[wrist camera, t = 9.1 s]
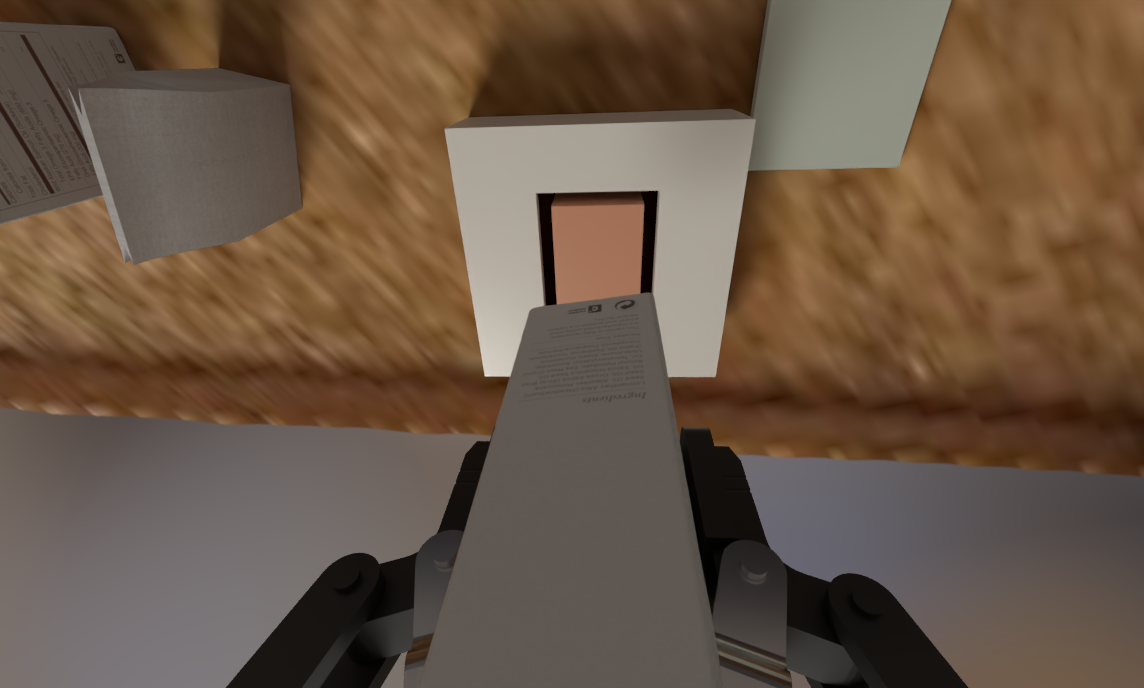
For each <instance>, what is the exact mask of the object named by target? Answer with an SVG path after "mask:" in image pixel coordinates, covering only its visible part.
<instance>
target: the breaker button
mask: <svg viewBox="0 0 1144 688" xmlns="http://www.w3.org/2000/svg"><path fill="white" fill-rule="evenodd" d="M551 211H552V229H553V246H554V263H555V281H556V298H557V305H558V304H565V303H574V302H581V301H588V300H596V299H604V298H610V297H618V296H625V295H633V294H640V285H641V264H642V243H643V221H644V202H643V198H642V195H641V191H617V192H571V193H555V196H554V200H553V203H552V206H551Z"/></svg>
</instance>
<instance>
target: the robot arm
mask: <svg viewBox="0 0 1144 688" xmlns="http://www.w3.org/2000/svg"><path fill="white" fill-rule="evenodd" d="M494 428H495V426H494ZM493 432H494V429H493ZM492 435H493V433H492ZM491 438H492V436H491ZM490 442H491V439H490V441H477V442H476V443H475V444H474V445H473V447H472V448H471V449H470V450H469V451H468V452H467V453H466V455H465V457H464V460H463V463H462V466H461V469H460V472H459V474H458V477H457V480H456V484H455V486H454V488H453V491H452V494H451V497H450V499H449V503H448V505H447V508H446V511H445V514H444V516H443V519H442V522H441V525H440V528H439V530H438V532H437V534H436V535H434V536H432V537H431V538H429V539H428V540H427V541H426V542H425V543H424V544H423V545H422V547H421V548H420V550H419V551H418V552H417V553H415V554H413V555H410V556H407V557H404V558H400V559H397V560H393V561H389V562H386V563H382V564H379V563H378V561H377V560H376V559H375V558H374V557H373V556H371V555H369V554H365V553H354V554H350V555H347V556H344V557H342V558H340V559H338V560H337V561H335V562H334V563H332V564H331V565H330V566H329V567H328V568H327V569H326V570H325V571H324V572H323V573H322V574H321V576H320V577H319V578H318V579H317V580H316V581H315V583H314V584H313V585H312V586H311V587H310V588H309V590H308V591H307V592H306V593H305V594H304V596H303V597H302V598H301V599H300V600H299V602H298V603H297V604H296V605H295V606H294V607H293V609H292V610H291V611H290V612H289V613H288V615H287V616H286V617H285V618H284V619H283V620H282V622H281V623H280V624H279V625H278V627H277V628H276V629H275V630H274V631H273V632H272V634H271V635H270V636H269V637H268V638H267V639H266V641H265V642H264V643H263V644H262V645H261V647H260V648H259V649H258V650H257V651H256V653H255V654H254V655H253V656H252V657H251V659H250V660H249V661H248V662H247V663H246V664H245V666H244V667H243V668H242V669H241V670H240V672H239V673H238V674H237V675H236V676H235V677H234V679H233V680H232V681H231V682H230V683H229V685H228V686H227V687H226V688H381V686H382V684H383V683H384V681H385V679H386V678H387V676H388V674H389V673H390V671H391V669H392V667H393V666H394V664H395V663H396V661H397V659H398V658H399V656H400V654H401V653H403V652H407V651H408V652H407V655H406V660H405V669H404V688H418V685H419V682H420V678H421V675H422V672H423V669H424V665H425V662H426V659H427V655H428V652H429V649H430V645H431V642H432V639H433V635H434V632H435V629H436V625H437V622H438V618H439V615H440V611H441V608H442V604H443V601H444V597H445V594H446V591H447V587H448V584H449V581H450V578H451V575H452V571H453V568H454V564H455V561H456V557H457V554H458V550H459V547H460V544H461V541H462V538H463V534H464V531H465V527H466V524H467V520H468V517H469V513H470V510H471V507H472V503H473V500H474V496H475V493H476V490H477V486H478V483H479V480H480V476H481V473H482V470H483V466H484V463H485V459H486V456H487V453H488V450H489V446H490ZM680 447H681V452H682V458H683V463H684V470H685V476H686V481H687V486H688V491H689V497H690V503H691V508H692V514H693V520H694V525H695V531H696V537H697V542H698V548H699V553H700V558H701V564H702V569H703V574H704V579H705V584H706V589H707V594H708V599H709V604H710V609H711V615H712V620H713V626H714V632H715V639H716V645H717V651H718V657H719V663H720V669H721V676H722V682H723V688H792V679H791V674H790V672H789V671H788V670H787V669H790V670H792V671H794V672H797V673H799V674H802V675H804V676H805V677H806V679H807V681H808V683H809V684H810V686H811V688H968V687H967V685H966V684H965V683H964V682H963V681H962V679H961V678H960V677H959V676H958V674H957V673H956V672H955V671H954V670H953V668H952V667H951V666H950V665H949V663H948V662H947V661H946V660H945V658H944V657H943V656H942V655H941V654H940V652H939V651H938V650H937V649H936V647H935V646H934V645H933V644H932V642H931V641H930V640H929V639H928V638H927V636H926V635H925V634H924V633H923V631H922V630H921V629H920V628H919V626H918V625H917V624H916V623H915V622H914V620H913V619H912V618H911V617H910V616H909V614H908V613H907V612H906V611H905V609H904V608H903V607H902V606H901V604H900V603H899V602H898V601H897V599H896V598H895V597H894V596H893V595H892V594H891V593H890V592H889V591H888V590H887V589H886V588H885V587H883V586H882V585H880V584H879V583H878V582H876V581H874V580H872V579H870V578H868V577H865V576H862V575H859V574H852V573H847V574H842V575H839V576H837V577H835V578H834V579H833V580H832V581H831V582H827V581H825V580H822V579H818V578H816V577H812V576H809V575H806V574H803V573H801V572H798V571H796V570H794V569H792V568H791V567H789V566H788V565H786V564H785V563H783V562H782V560H781V559H780V558H779V556H778V555H777V554H776V553H775V552H774V551H773V550H771V548H770V547H769V545H768V543H767V540H766V537H765V534H764V531H763V528H762V525H761V522H760V519H759V515H758V512H757V509H756V506H755V503H754V500H753V497H752V494H751V493H750V488H749V485H748V482H747V480H746V475H745V472H744V469H743V466H742V463H741V461H740V459H739V458H738V457H737V456H736V455H735V453H734V452H733V451H732V450H731V449H730V448H729V447H723V446H714V443H713V439H712V436H711V432H710V429H709V428H701V427H682V429H681V434H680Z"/></svg>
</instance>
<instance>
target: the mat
mask: <svg viewBox="0 0 1144 688" xmlns="http://www.w3.org/2000/svg"><path fill="white" fill-rule="evenodd" d="M950 3H951V0H768V1H767V8H766V14H765V21H764V28H763V34H762V41H761V47H760V54H759V61H758V67H757V74H756V81H755V87H754V94H753V101H752V107H751V114H750V117H753V118H755V119H756V122H755V129H754V135H753V141H752V148H751V154H750V160H749V167H748V171H756V170H797V169H839V168H880V167H899V163H900V160H901V157H902V154H903V151H904V148H905V145H906V141H907V138H908V135H909V132H910V129H911V126H912V123H913V119H914V116H915V113H916V110H917V107H918V104H919V101H920V97H921V94H922V91H923V88H924V85H925V82H926V79H927V75H928V72H929V69H930V66H931V63H932V60H933V57H934V53H935V50H936V47H937V44H938V41H939V38H940V35H941V31H942V28H943V25H944V22H945V19H946V16H947V13H948V9H949V6H950Z"/></svg>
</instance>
